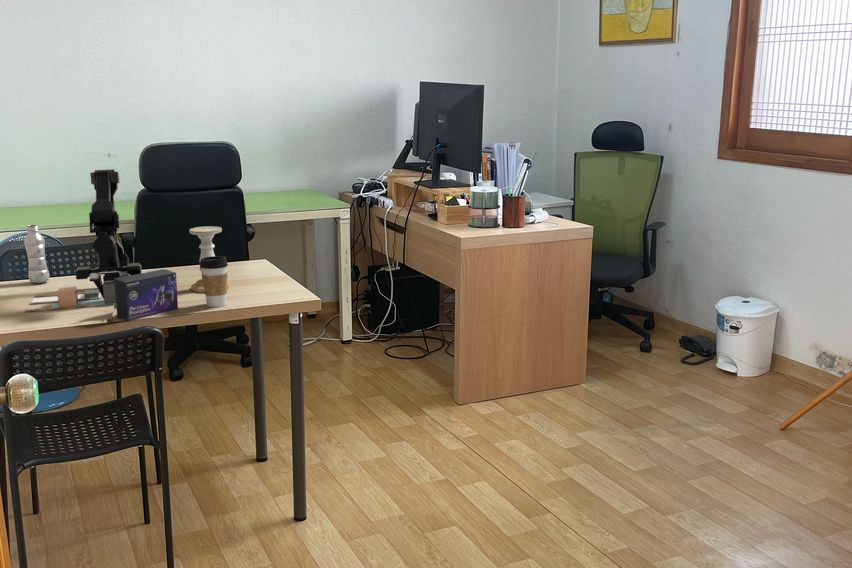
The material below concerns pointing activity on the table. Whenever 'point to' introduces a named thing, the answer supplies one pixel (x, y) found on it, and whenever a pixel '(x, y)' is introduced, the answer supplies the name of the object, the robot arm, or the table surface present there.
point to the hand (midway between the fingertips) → (111, 298)
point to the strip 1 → (87, 294)
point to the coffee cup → (215, 280)
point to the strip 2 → (108, 299)
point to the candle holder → (205, 249)
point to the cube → (67, 296)
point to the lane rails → (57, 302)
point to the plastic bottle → (36, 255)
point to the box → (146, 294)
